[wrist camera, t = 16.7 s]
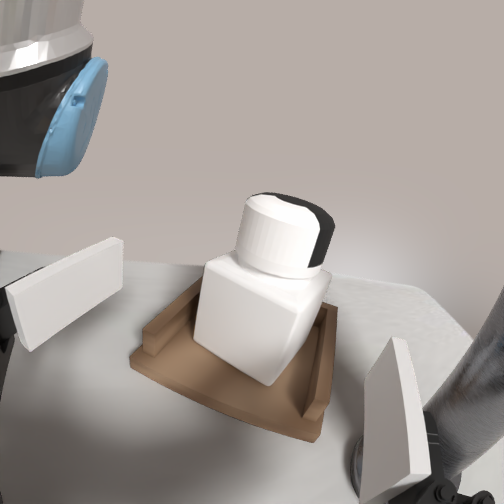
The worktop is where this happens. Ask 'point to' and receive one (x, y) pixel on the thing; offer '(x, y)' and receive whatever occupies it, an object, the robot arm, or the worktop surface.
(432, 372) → the worktop surface
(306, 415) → the notched board
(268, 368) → the medicine bottle
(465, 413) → the bobbin post
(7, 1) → the robot arm
